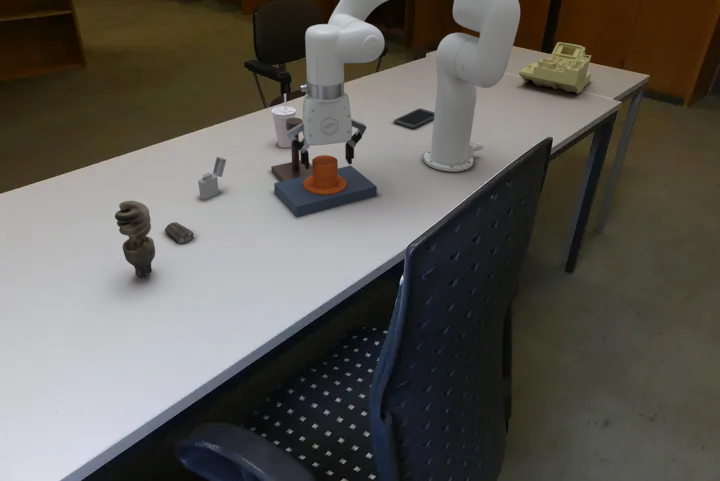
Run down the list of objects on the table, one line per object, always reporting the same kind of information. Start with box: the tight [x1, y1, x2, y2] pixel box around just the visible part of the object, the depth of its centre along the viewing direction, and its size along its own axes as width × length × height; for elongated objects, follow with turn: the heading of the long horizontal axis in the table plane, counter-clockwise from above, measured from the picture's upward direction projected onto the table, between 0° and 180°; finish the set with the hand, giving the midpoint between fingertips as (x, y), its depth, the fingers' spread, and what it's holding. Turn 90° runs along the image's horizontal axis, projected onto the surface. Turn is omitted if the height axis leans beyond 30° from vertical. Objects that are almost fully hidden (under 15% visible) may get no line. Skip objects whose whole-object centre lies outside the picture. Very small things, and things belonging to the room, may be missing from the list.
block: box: [164, 221, 194, 244], centre depth 116 cm, size 4×6×2 cm, turn 52°
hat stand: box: [270, 117, 313, 182], centre depth 136 cm, size 9×9×14 cm
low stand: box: [273, 165, 378, 217], centre depth 132 cm, size 20×12×2 cm, turn 120°
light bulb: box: [114, 200, 156, 279], centre depth 101 cm, size 6×6×15 cm
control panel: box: [518, 41, 593, 95], centre depth 199 cm, size 24×16×20 cm
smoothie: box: [271, 93, 297, 149], centre depth 151 cm, size 6×6×14 cm
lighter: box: [197, 156, 227, 201], centre depth 129 cm, size 7×2×8 cm, turn 142°
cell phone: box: [393, 107, 435, 130], centre depth 172 cm, size 7×14×1 cm, turn 141°
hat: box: [303, 154, 347, 195], centre depth 129 cm, size 10×10×6 cm
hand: (327, 164), depth 129 cm, fingers open, 9 cm apart
